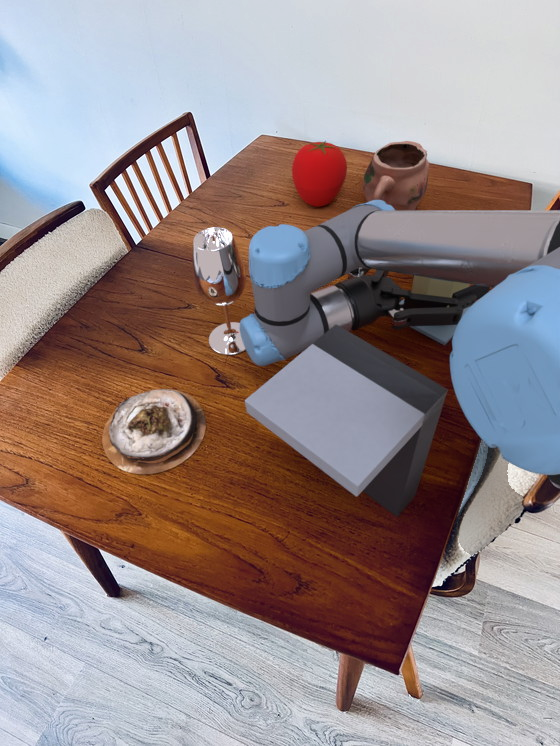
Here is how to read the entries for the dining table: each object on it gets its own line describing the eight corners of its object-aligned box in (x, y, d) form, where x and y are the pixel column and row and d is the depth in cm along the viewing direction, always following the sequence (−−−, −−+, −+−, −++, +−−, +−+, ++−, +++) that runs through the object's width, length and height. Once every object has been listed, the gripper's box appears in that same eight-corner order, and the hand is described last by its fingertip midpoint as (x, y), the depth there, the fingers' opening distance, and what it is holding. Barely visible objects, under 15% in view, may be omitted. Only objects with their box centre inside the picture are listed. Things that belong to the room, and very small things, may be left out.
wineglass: (263, 336, 87) (252, 234, 72) (231, 363, 84) (212, 263, 68) (230, 316, 91) (213, 216, 76) (198, 342, 87) (173, 242, 72)
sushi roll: (208, 387, 81) (204, 369, 77) (201, 472, 71) (196, 456, 68) (114, 392, 81) (106, 375, 78) (94, 477, 71) (84, 461, 68)
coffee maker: (415, 495, 67) (447, 389, 50) (346, 577, 61) (358, 486, 44) (331, 435, 74) (335, 323, 57) (262, 503, 67) (244, 400, 51)
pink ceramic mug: (405, 254, 99) (416, 187, 89) (345, 240, 103) (348, 175, 93) (431, 200, 111) (443, 135, 100) (376, 190, 115) (382, 126, 104)
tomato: (286, 212, 111) (283, 154, 101) (300, 186, 118) (298, 129, 108) (338, 218, 108) (340, 159, 99) (349, 191, 115) (352, 133, 105)
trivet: (479, 310, 88) (480, 306, 88) (444, 345, 84) (445, 342, 83) (424, 283, 94) (425, 279, 93) (388, 315, 89) (388, 312, 88)
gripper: (303, 281, 87) (408, 242, 92) (387, 381, 72) (507, 328, 77) (302, 243, 81) (414, 204, 87) (393, 343, 66) (522, 289, 72)
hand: (458, 262), depth 82 cm, fingers open, 13 cm apart
